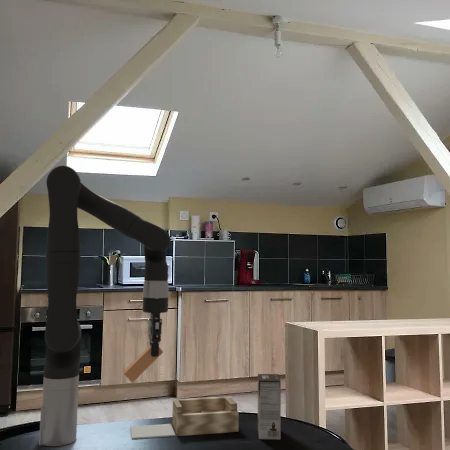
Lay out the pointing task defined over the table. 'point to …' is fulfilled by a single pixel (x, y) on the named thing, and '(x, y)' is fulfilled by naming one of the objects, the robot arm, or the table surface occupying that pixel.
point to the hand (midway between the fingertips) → (154, 354)
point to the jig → (204, 415)
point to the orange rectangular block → (140, 364)
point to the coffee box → (269, 406)
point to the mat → (151, 431)
